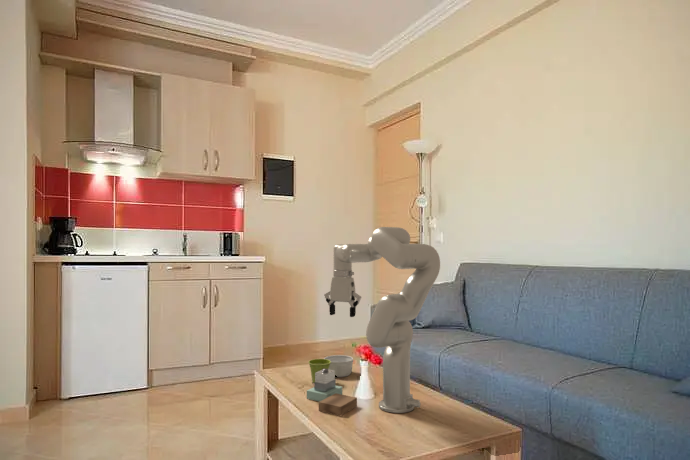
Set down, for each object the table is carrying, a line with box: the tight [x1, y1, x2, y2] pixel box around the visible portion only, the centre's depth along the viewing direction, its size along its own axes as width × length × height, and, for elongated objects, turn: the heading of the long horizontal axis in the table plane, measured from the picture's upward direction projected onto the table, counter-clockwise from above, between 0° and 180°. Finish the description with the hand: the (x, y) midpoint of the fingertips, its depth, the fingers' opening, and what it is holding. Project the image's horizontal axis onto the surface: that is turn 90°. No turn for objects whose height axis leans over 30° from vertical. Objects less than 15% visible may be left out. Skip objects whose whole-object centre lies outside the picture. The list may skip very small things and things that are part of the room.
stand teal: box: [306, 385, 343, 402], centre depth 175 cm, size 9×11×3 cm
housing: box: [313, 369, 337, 392], centre depth 175 cm, size 5×7×7 cm
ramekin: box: [323, 354, 354, 378], centre depth 206 cm, size 13×13×7 cm
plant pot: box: [308, 358, 331, 384], centre depth 193 cm, size 9×9×9 cm
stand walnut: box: [318, 393, 358, 417], centre depth 162 cm, size 9×11×3 cm
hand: (342, 315), depth 190 cm, fingers open, 9 cm apart
